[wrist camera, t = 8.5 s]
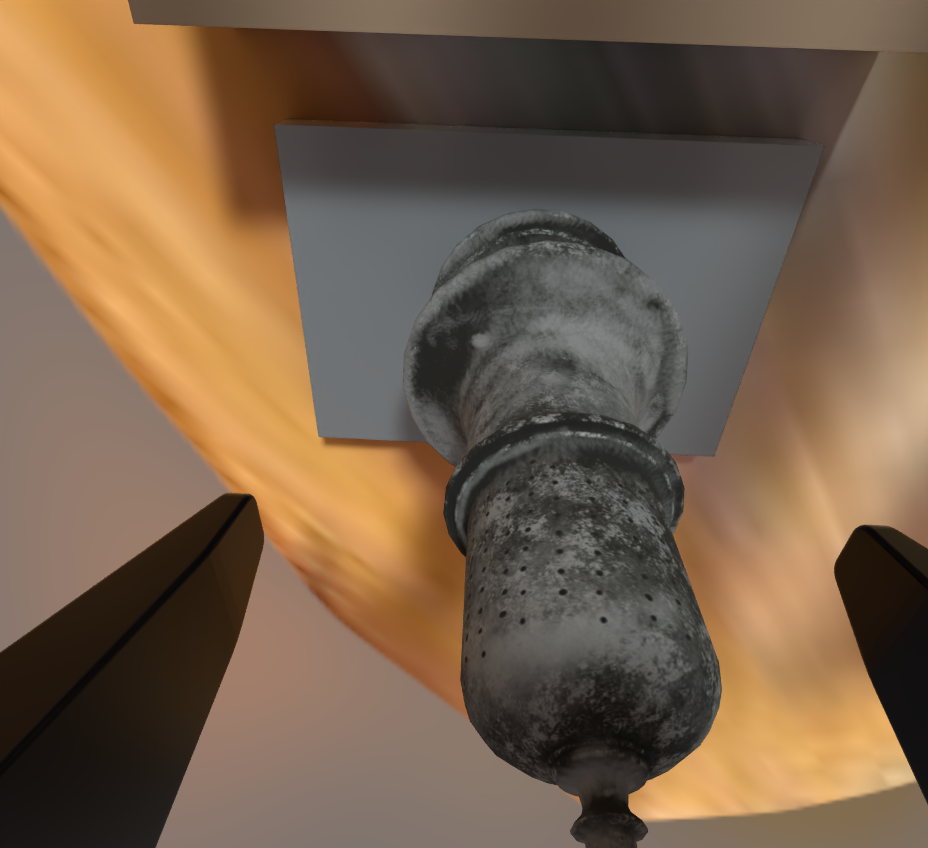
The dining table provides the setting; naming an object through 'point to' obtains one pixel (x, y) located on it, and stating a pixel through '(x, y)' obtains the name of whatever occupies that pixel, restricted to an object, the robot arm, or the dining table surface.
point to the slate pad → (518, 189)
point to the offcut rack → (580, 20)
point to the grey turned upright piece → (566, 509)
